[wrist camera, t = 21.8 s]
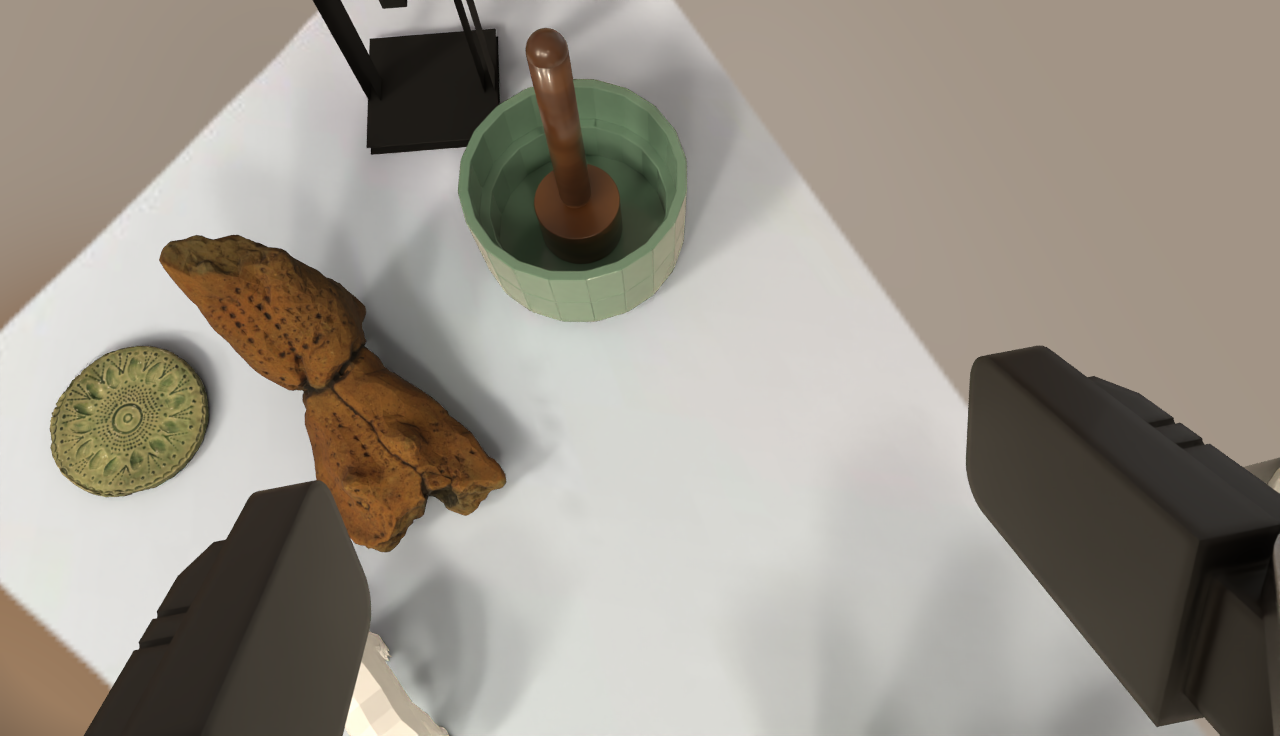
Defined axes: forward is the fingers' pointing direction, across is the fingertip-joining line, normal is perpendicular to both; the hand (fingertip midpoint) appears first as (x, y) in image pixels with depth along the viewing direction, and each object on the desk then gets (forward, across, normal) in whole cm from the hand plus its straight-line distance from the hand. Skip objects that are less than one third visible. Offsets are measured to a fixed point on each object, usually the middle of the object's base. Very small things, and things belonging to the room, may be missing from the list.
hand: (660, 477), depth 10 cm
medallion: (+30, +25, +12) cm, 41 cm away
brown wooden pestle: (+34, +1, +7) cm, 35 cm away
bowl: (+35, +1, +8) cm, 35 cm away
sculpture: (+29, +12, +13) cm, 34 cm away
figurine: (+19, +13, +23) cm, 33 cm away
